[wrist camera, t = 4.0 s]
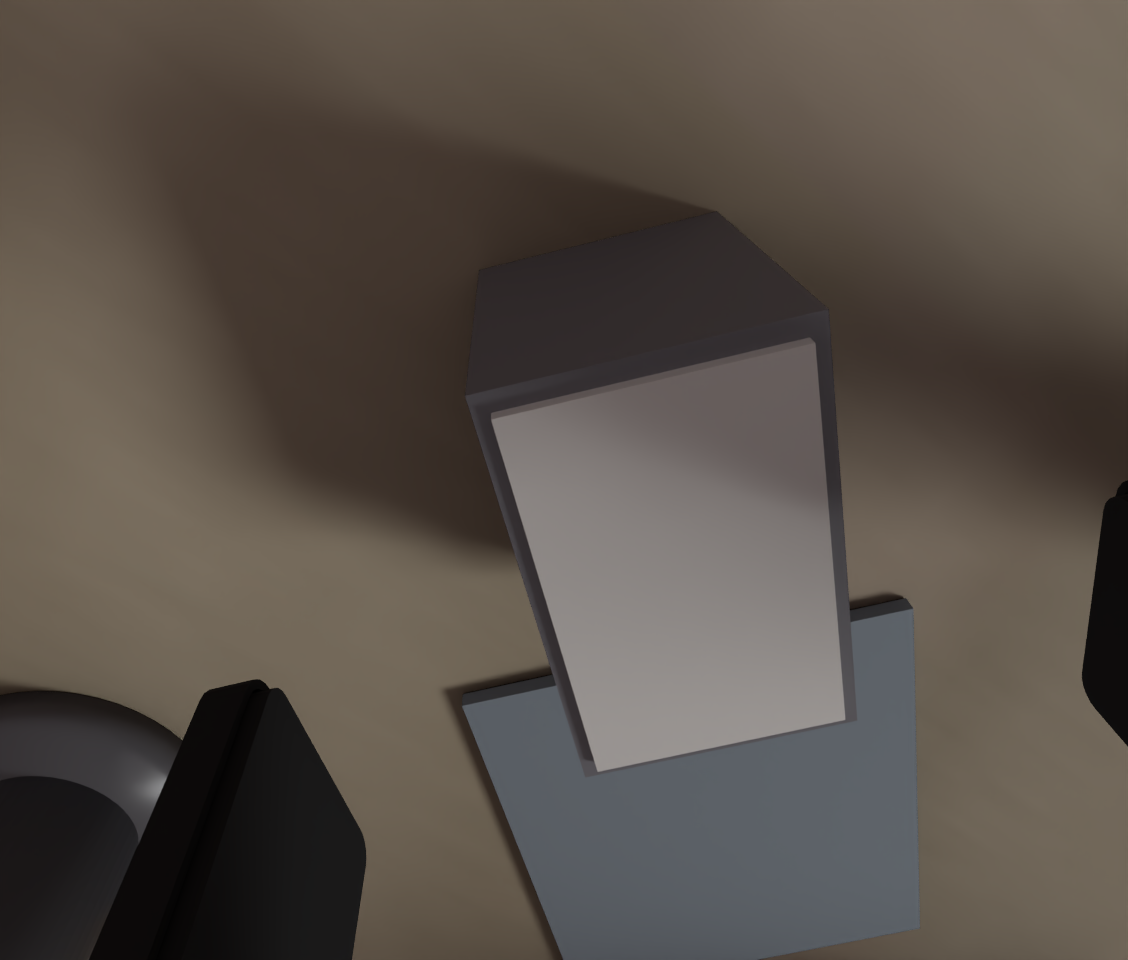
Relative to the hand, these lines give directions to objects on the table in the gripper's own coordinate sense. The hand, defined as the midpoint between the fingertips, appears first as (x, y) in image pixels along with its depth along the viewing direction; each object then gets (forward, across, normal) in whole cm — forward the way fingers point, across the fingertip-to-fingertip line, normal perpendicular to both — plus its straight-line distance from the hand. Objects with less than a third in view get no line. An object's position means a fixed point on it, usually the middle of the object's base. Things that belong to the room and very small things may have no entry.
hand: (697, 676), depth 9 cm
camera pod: (+8, 0, 0) cm, 8 cm away
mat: (+8, 0, +14) cm, 16 cm away
